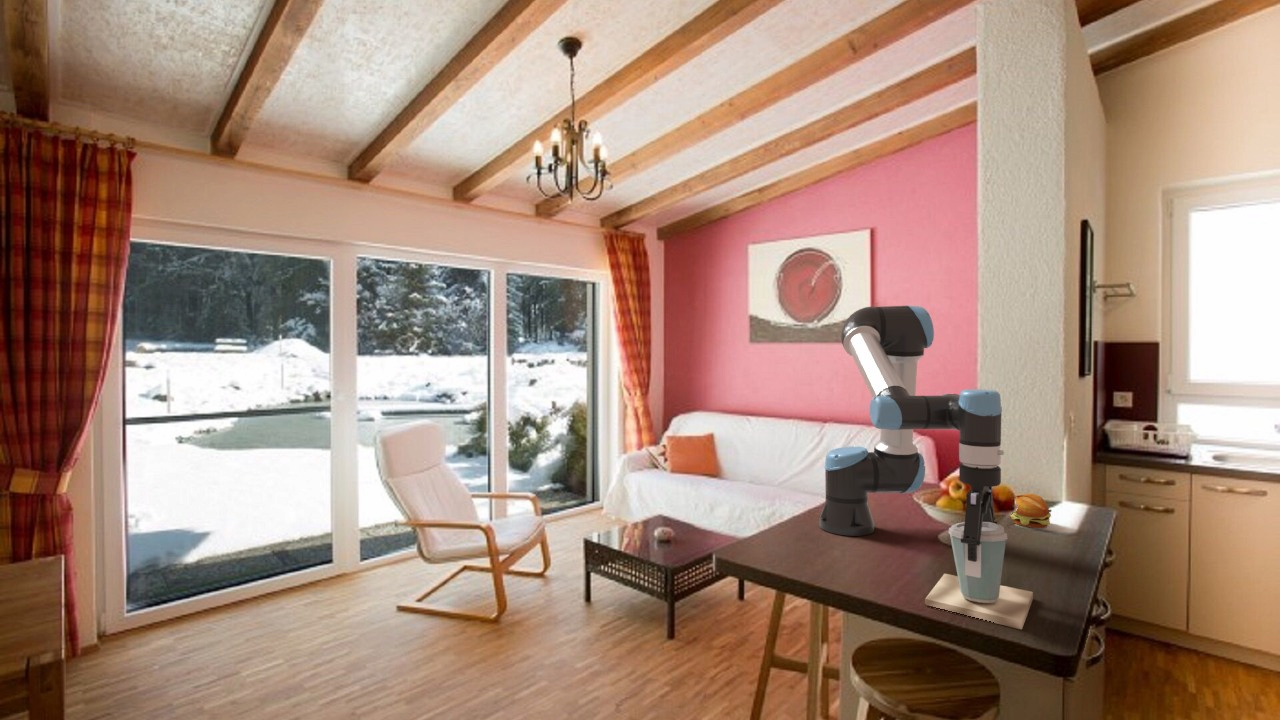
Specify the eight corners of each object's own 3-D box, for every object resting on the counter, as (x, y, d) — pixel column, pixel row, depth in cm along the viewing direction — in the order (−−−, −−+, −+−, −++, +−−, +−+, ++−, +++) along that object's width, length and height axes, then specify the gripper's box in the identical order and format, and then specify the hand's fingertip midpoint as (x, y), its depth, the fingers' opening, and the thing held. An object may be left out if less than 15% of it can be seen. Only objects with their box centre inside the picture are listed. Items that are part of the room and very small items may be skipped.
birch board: (925, 605, 125) (925, 598, 125) (944, 579, 138) (944, 573, 138) (1021, 629, 114) (1021, 621, 114) (1032, 599, 127) (1032, 592, 127)
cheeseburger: (1050, 521, 180) (1051, 490, 178) (1051, 539, 172) (1052, 508, 169) (1010, 515, 186) (1011, 486, 183) (1010, 533, 177) (1010, 502, 175)
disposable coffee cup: (965, 607, 119) (963, 530, 120) (940, 588, 130) (938, 518, 130) (1020, 607, 119) (1018, 530, 119) (990, 588, 130) (988, 518, 130)
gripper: (989, 477, 113) (989, 589, 114) (1010, 456, 132) (1009, 552, 133) (945, 472, 118) (945, 580, 118) (971, 453, 137) (971, 545, 138)
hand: (979, 565), depth 126 cm, fingers open, 13 cm apart
